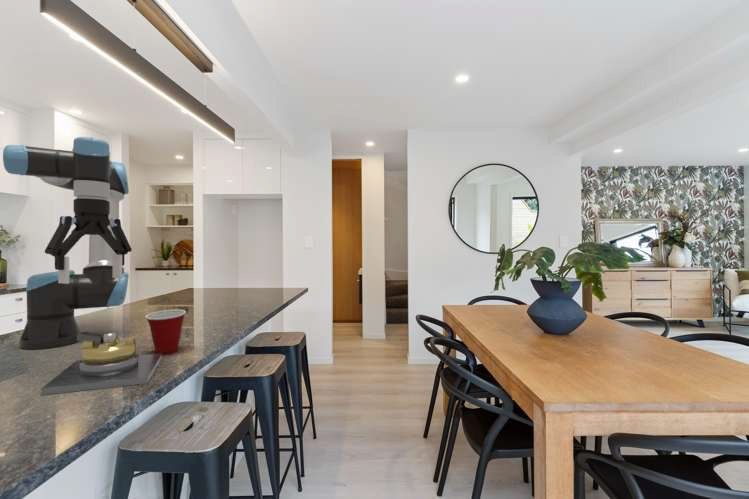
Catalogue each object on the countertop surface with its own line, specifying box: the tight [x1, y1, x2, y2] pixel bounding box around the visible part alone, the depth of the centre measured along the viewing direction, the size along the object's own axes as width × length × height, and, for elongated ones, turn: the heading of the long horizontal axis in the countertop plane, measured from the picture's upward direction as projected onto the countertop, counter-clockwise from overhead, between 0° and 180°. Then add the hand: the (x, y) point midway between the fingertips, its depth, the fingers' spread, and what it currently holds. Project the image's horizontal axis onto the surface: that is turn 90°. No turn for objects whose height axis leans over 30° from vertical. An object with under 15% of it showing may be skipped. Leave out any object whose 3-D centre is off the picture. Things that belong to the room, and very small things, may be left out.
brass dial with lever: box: [77, 331, 137, 364], centre depth 95 cm, size 18×11×6 cm, turn 66°
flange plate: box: [40, 352, 163, 396], centre depth 93 cm, size 20×20×4 cm
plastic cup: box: [144, 308, 187, 355], centre depth 113 cm, size 11×11×12 cm
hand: (92, 280), depth 97 cm, fingers open, 13 cm apart
